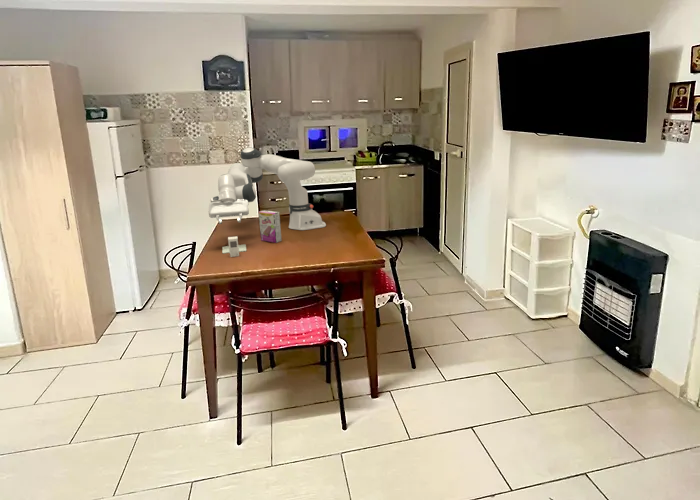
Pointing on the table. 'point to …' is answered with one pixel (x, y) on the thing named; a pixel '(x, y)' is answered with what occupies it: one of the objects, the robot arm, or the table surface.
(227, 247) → the board
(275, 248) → the table surface
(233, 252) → the white device with screen
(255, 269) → the table surface
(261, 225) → the candy bar box
